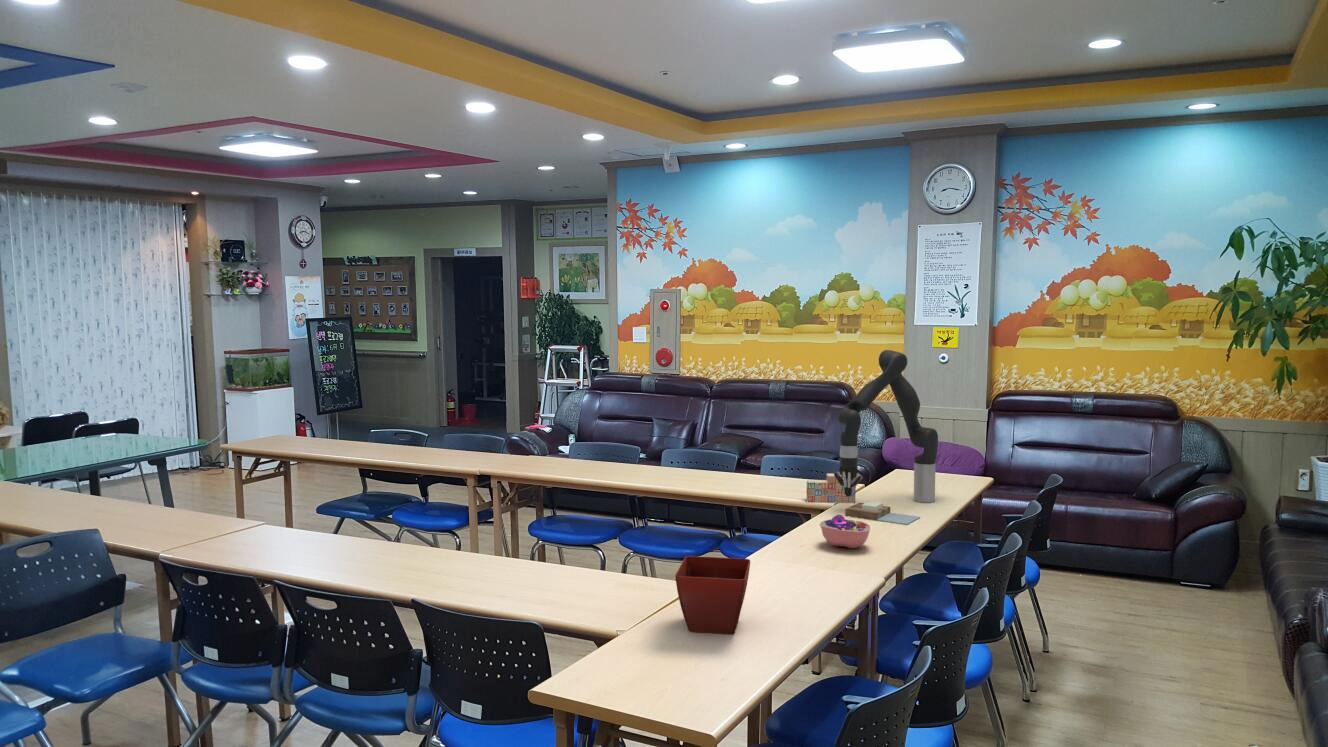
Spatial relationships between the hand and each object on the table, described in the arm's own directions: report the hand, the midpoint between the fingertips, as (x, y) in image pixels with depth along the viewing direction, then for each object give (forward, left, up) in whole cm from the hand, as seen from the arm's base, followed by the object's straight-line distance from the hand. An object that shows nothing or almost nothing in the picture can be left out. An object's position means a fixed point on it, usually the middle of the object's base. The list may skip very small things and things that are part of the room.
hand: (848, 495), depth 382 cm
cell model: (+50, +22, -7) cm, 55 cm away
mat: (0, +22, -7) cm, 24 cm away
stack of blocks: (-15, -15, -8) cm, 23 cm away
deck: (0, +9, -7) cm, 11 cm away
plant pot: (+145, +26, -7) cm, 148 cm away
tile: (0, +11, -4) cm, 12 cm away
